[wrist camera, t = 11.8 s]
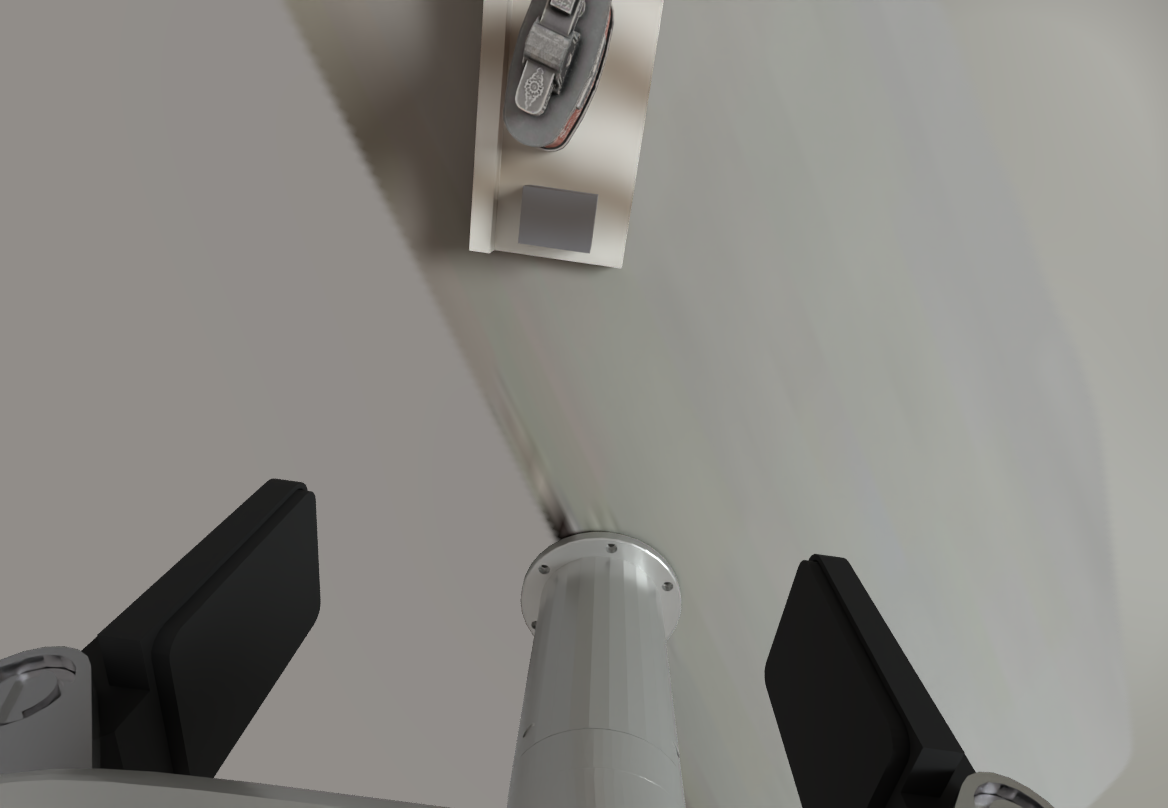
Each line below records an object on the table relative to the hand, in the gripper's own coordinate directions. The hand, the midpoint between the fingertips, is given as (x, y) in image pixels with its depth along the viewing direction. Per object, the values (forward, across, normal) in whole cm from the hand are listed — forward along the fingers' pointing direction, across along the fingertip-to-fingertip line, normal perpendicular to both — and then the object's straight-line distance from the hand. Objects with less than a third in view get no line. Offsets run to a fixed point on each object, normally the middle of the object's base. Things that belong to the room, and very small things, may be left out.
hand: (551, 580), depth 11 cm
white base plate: (+28, +3, -12) cm, 31 cm away
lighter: (+27, +3, -12) cm, 30 cm away
